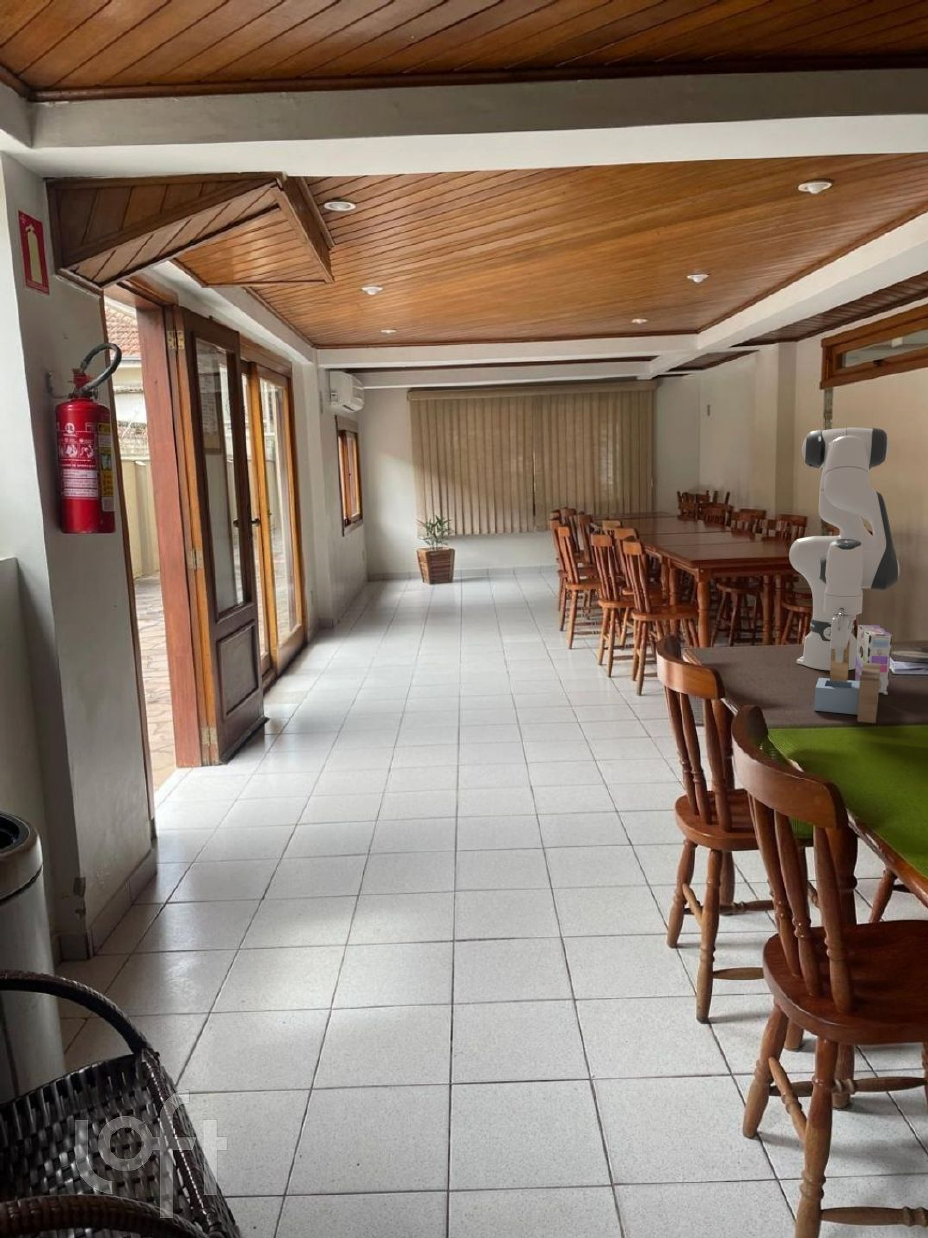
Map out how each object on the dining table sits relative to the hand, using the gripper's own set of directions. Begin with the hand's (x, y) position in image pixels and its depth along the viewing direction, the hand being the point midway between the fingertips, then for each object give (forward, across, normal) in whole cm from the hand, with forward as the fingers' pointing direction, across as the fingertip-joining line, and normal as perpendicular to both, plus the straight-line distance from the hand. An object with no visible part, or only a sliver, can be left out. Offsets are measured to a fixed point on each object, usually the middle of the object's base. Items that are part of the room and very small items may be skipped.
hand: (839, 659), depth 225 cm
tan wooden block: (+5, 0, 0) cm, 5 cm away
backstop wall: (+13, 0, -7) cm, 14 cm away
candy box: (+13, +23, -7) cm, 27 cm away
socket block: (+13, 0, 0) cm, 13 cm away
